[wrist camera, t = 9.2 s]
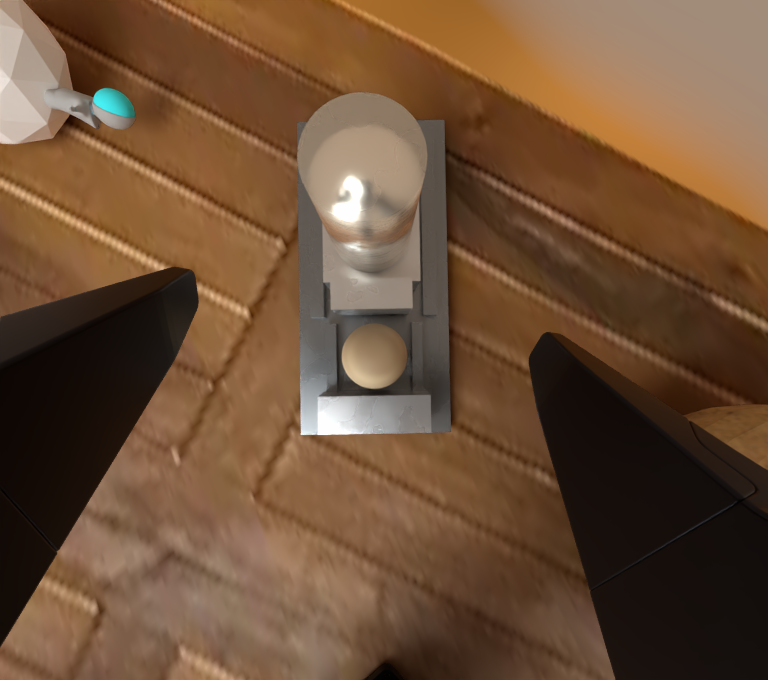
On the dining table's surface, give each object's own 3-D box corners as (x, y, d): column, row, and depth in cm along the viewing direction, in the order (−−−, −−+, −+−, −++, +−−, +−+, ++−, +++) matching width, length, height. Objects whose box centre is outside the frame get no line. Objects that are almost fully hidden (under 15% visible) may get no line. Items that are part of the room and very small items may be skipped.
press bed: (447, 428, 22) (460, 443, 19) (304, 430, 22) (289, 446, 19) (441, 129, 22) (452, 89, 19) (300, 132, 22) (285, 92, 19)
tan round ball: (373, 397, 21) (370, 407, 18) (333, 352, 21) (322, 354, 18) (417, 357, 21) (424, 359, 18) (377, 313, 21) (376, 306, 18)
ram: (415, 315, 21) (446, 284, 11) (332, 316, 21) (282, 287, 11) (413, 207, 21) (442, 74, 11) (330, 209, 21) (279, 77, 11)
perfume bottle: (-68, -55, 19) (162, 21, 20) (-11, 118, 24) (174, 170, 25) (-304, -128, 13) (55, -10, 14) (-162, 128, 17) (97, 197, 19)
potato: (511, 525, 22) (584, 627, 14) (657, 357, 22) (810, 362, 14) (629, 629, 22) (772, 793, 14) (775, 459, 22) (997, 523, 14)
